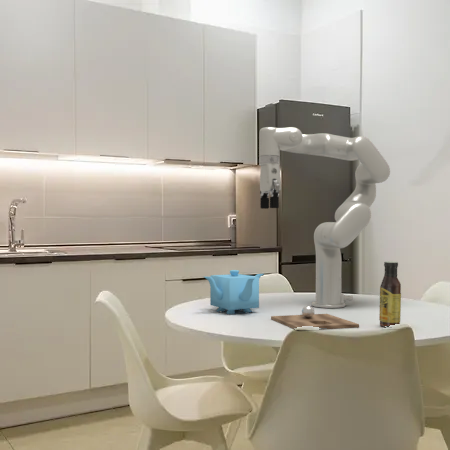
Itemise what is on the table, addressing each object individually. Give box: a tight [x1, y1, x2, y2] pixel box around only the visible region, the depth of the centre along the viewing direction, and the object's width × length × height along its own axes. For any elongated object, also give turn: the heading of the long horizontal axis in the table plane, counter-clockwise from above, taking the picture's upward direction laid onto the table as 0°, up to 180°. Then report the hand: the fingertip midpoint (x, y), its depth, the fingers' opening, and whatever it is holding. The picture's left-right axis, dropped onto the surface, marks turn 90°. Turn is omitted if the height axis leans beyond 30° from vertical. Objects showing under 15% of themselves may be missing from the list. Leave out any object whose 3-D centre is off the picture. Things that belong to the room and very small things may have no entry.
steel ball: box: [301, 305, 315, 318], centre depth 199 cm, size 4×4×4 cm
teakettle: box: [203, 269, 265, 315], centre depth 220 cm, size 19×19×15 cm
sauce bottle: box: [378, 260, 402, 328], centre depth 189 cm, size 6×6×20 cm
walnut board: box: [270, 313, 360, 330], centre depth 195 cm, size 20×22×1 cm
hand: (269, 208), depth 227 cm, fingers open, 9 cm apart
